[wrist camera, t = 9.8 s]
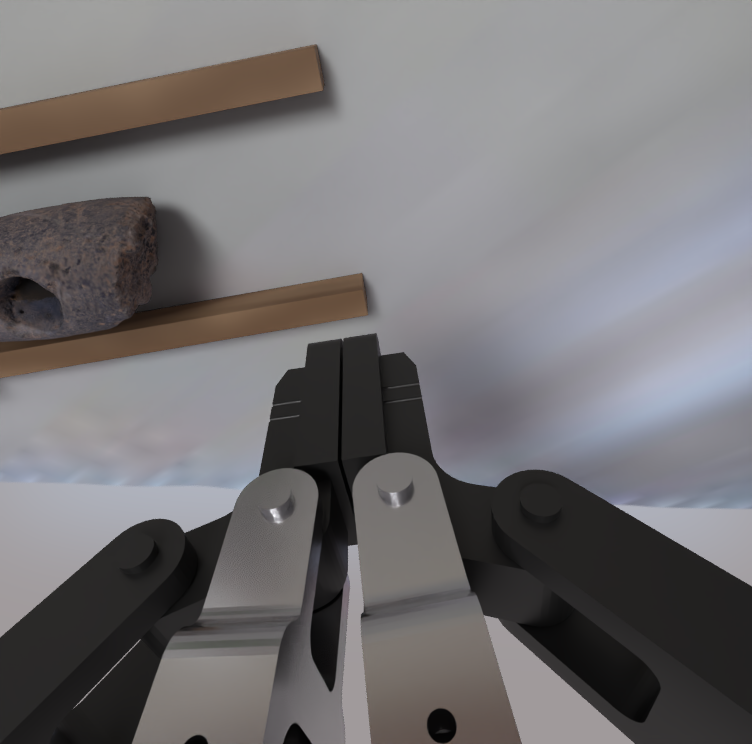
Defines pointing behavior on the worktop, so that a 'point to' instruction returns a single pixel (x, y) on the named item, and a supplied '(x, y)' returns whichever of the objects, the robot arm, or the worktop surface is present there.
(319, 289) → the channel
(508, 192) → the worktop surface
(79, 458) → the worktop surface
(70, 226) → the perforated stone tool
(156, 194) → the worktop surface
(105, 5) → the worktop surface
